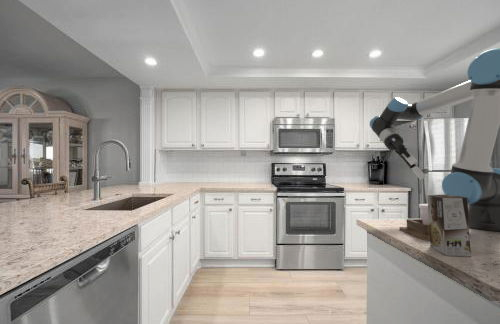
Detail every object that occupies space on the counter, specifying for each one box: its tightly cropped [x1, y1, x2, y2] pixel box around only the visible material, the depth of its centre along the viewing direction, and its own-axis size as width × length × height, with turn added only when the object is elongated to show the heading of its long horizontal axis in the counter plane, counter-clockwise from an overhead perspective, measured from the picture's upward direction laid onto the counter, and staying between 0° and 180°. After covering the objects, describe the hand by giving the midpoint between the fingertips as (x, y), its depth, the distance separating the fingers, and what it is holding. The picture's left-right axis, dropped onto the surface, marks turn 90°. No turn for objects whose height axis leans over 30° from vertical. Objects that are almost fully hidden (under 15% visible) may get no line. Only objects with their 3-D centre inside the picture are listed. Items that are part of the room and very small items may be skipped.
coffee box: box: [426, 194, 472, 257], centre depth 74 cm, size 9×6×16 cm
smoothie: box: [418, 192, 431, 225], centre depth 93 cm, size 6×6×14 cm
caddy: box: [399, 218, 430, 242], centre depth 92 cm, size 14×16×4 cm
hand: (418, 170), depth 106 cm, fingers open, 13 cm apart
